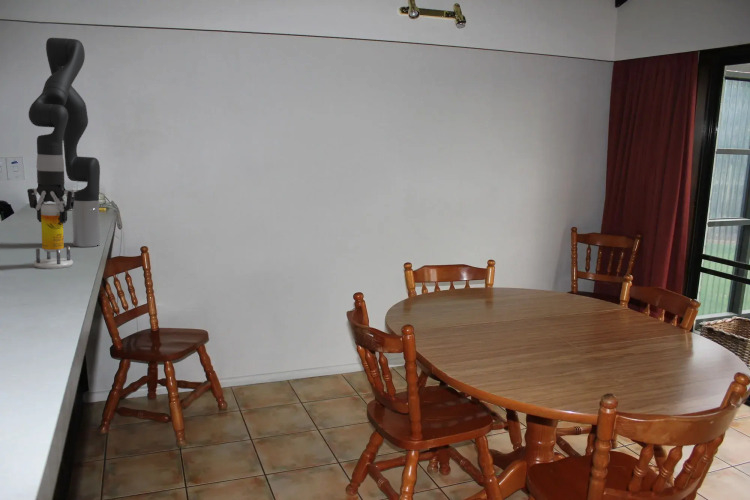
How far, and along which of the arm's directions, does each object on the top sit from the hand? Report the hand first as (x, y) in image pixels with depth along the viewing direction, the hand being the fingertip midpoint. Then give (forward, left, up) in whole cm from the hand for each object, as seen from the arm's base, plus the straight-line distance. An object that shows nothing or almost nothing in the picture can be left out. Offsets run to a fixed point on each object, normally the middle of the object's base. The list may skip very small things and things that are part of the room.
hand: (52, 222), depth 189 cm
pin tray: (0, 0, -14) cm, 14 cm away
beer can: (0, 0, -9) cm, 9 cm away
